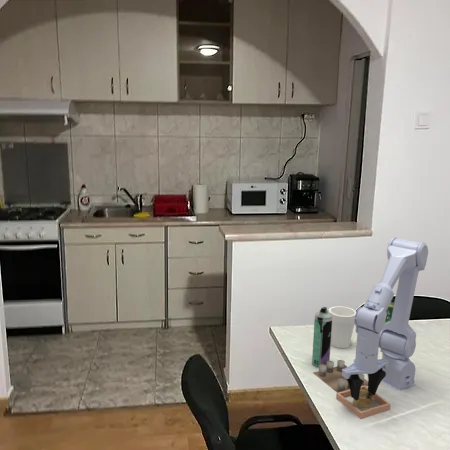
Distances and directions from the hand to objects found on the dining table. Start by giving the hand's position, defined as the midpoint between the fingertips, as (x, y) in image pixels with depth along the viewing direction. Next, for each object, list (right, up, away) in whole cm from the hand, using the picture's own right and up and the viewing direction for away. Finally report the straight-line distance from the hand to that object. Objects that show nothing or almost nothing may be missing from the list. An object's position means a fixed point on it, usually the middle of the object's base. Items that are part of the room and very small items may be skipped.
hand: (363, 395), depth 127 cm
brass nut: (0, -2, +1) cm, 3 cm away
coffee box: (+20, +6, +45) cm, 50 cm away
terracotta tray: (0, -3, +1) cm, 3 cm away
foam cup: (+3, +4, +36) cm, 36 cm away
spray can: (-7, +1, +22) cm, 23 cm away
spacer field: (-3, 0, +13) cm, 14 cm away
